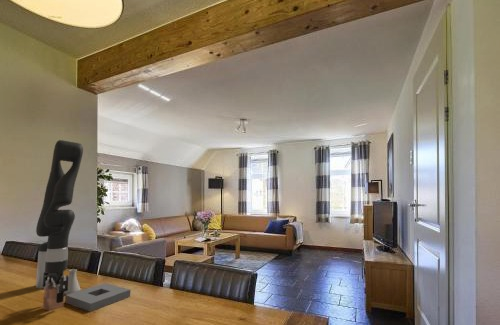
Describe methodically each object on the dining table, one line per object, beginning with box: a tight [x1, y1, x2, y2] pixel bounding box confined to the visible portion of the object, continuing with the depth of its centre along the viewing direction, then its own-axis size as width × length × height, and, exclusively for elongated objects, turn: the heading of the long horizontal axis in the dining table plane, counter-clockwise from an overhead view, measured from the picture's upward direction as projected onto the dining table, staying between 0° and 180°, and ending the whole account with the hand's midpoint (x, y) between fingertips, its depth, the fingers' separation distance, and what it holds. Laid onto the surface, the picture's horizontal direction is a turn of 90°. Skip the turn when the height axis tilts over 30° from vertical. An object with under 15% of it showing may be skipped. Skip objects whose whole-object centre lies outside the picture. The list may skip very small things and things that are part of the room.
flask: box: [64, 268, 82, 296], centre depth 130 cm, size 7×7×10 cm
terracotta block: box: [42, 285, 65, 312], centre depth 113 cm, size 5×5×8 cm
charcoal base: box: [64, 282, 131, 313], centre depth 121 cm, size 18×18×3 cm
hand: (53, 300), depth 113 cm, fingers open, 8 cm apart
